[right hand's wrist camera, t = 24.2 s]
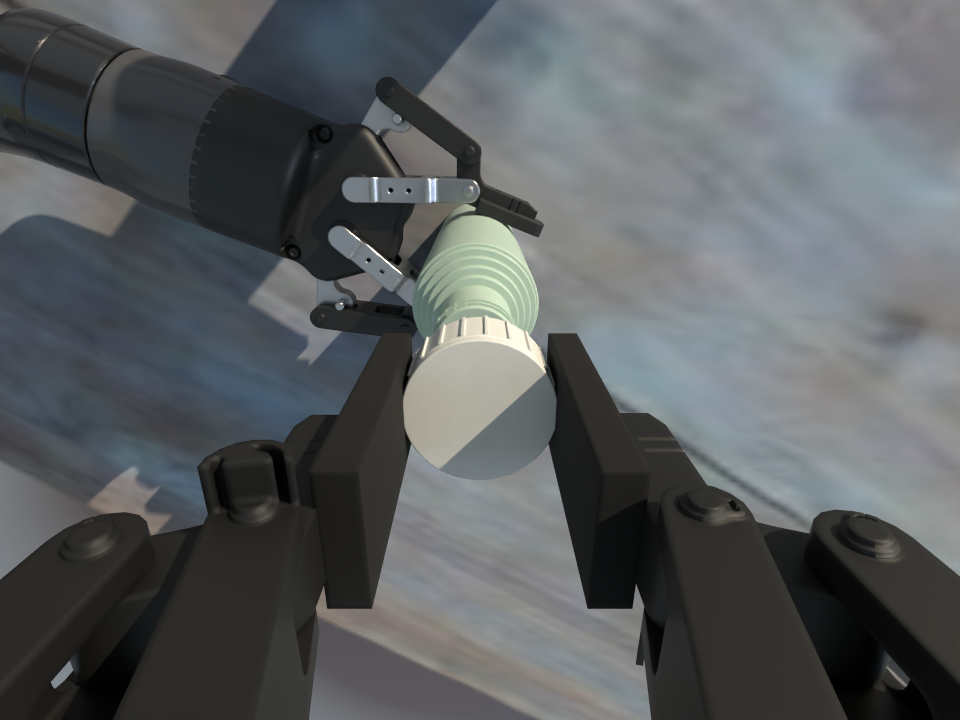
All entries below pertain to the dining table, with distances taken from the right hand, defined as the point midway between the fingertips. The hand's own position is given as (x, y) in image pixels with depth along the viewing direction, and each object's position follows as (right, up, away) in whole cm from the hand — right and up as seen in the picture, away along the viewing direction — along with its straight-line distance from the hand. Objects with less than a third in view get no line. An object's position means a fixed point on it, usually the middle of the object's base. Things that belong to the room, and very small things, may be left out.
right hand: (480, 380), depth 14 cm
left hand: (+2, +5, +15) cm, 16 cm away
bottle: (0, +9, +21) cm, 23 cm away
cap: (0, -1, -2) cm, 2 cm away
